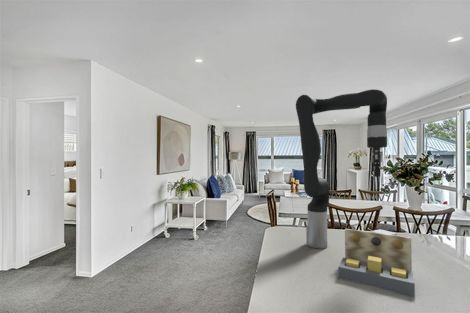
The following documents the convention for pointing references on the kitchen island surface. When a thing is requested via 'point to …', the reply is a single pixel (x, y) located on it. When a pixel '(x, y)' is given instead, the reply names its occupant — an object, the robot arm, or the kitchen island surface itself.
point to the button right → (398, 272)
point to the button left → (352, 263)
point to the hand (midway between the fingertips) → (377, 176)
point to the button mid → (374, 264)
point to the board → (377, 277)
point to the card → (379, 248)
